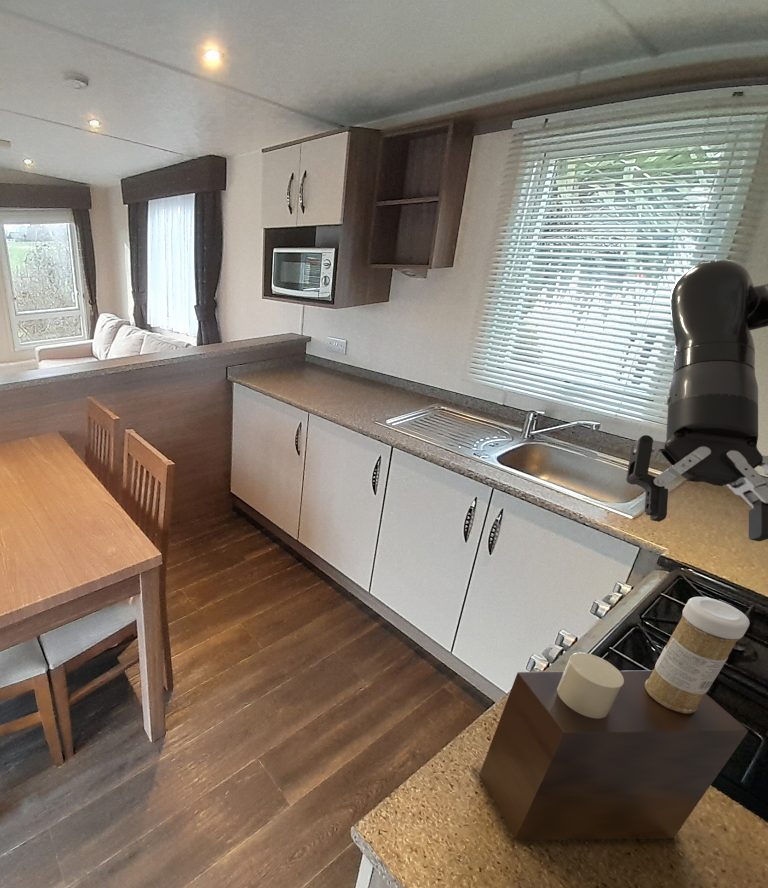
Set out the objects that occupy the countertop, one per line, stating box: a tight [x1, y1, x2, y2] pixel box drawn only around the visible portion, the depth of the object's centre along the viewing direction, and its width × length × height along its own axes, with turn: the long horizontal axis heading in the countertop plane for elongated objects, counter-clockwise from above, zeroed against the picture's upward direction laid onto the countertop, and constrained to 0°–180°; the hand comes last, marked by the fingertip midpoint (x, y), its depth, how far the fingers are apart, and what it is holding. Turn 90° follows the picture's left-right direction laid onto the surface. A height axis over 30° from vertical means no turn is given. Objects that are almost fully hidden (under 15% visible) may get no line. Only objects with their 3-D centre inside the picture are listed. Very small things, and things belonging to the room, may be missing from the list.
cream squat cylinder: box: [557, 652, 624, 719], centre depth 55 cm, size 5×5×5 cm
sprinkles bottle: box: [645, 596, 751, 714], centre depth 53 cm, size 5×5×14 cm
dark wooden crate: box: [478, 669, 749, 841], centre depth 60 cm, size 20×8×21 cm, turn 90°
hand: (707, 529), depth 55 cm, fingers open, 8 cm apart
